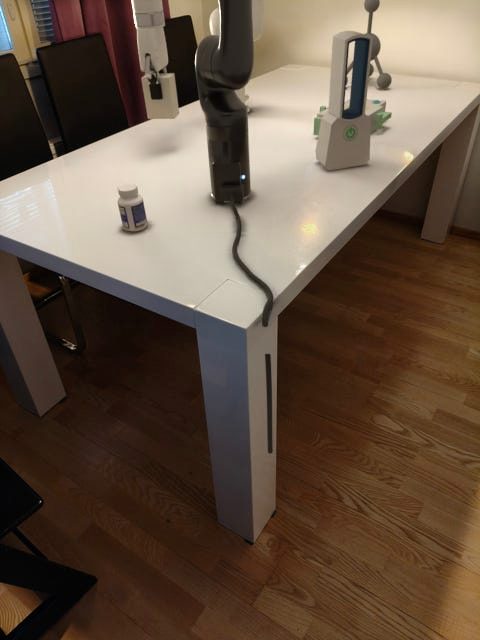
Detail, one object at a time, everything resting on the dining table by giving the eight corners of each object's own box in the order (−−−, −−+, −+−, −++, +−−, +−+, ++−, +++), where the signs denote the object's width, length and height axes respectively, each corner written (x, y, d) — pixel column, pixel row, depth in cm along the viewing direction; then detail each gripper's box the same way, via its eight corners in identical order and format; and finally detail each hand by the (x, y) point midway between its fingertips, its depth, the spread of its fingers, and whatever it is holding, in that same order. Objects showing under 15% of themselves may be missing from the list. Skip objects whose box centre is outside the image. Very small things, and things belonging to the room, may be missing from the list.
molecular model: (320, 82, 200) (324, -5, 182) (368, 76, 205) (377, -10, 186) (347, 95, 182) (354, 0, 164) (399, 88, 187) (412, -5, 168)
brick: (153, 113, 141) (147, 73, 134) (179, 113, 139) (174, 73, 133) (147, 118, 137) (140, 77, 130) (174, 119, 136) (168, 77, 129)
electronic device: (325, 171, 125) (333, 37, 106) (314, 161, 130) (320, 32, 112) (369, 164, 127) (385, 32, 108) (356, 155, 133) (369, 28, 114)
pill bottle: (149, 220, 107) (142, 181, 102) (146, 231, 103) (138, 191, 98) (125, 221, 107) (116, 182, 102) (121, 232, 103) (112, 193, 98)
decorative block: (340, 93, 160) (399, 100, 150) (339, 114, 164) (396, 122, 154) (301, 113, 144) (364, 122, 134) (300, 136, 148) (362, 146, 138)
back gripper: (147, 16, 131) (157, 88, 142) (123, 25, 118) (136, 105, 129) (173, 15, 129) (182, 88, 141) (152, 25, 117) (163, 105, 128)
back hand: (160, 95), depth 135 cm, fingers closed on brick, 5 cm apart
